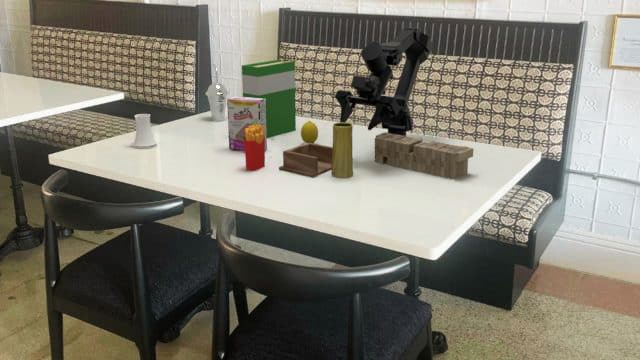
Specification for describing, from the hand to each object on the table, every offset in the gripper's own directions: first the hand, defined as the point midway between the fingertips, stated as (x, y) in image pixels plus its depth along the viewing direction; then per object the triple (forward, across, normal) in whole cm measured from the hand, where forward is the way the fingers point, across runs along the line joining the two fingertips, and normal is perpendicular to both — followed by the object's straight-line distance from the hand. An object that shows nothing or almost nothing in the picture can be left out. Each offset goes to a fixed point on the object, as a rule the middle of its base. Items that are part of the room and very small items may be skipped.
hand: (354, 127), depth 180 cm
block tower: (0, +14, +18) cm, 23 cm away
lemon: (-1, -26, +18) cm, 32 cm away
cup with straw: (-6, -75, +24) cm, 79 cm away
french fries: (+19, -24, -1) cm, 31 cm away
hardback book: (-4, -46, +21) cm, 51 cm away
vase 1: (+22, -68, -4) cm, 72 cm away
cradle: (+13, -10, +5) cm, 17 cm away
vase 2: (+13, 0, +5) cm, 14 cm away
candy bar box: (+11, -38, +7) cm, 40 cm away
